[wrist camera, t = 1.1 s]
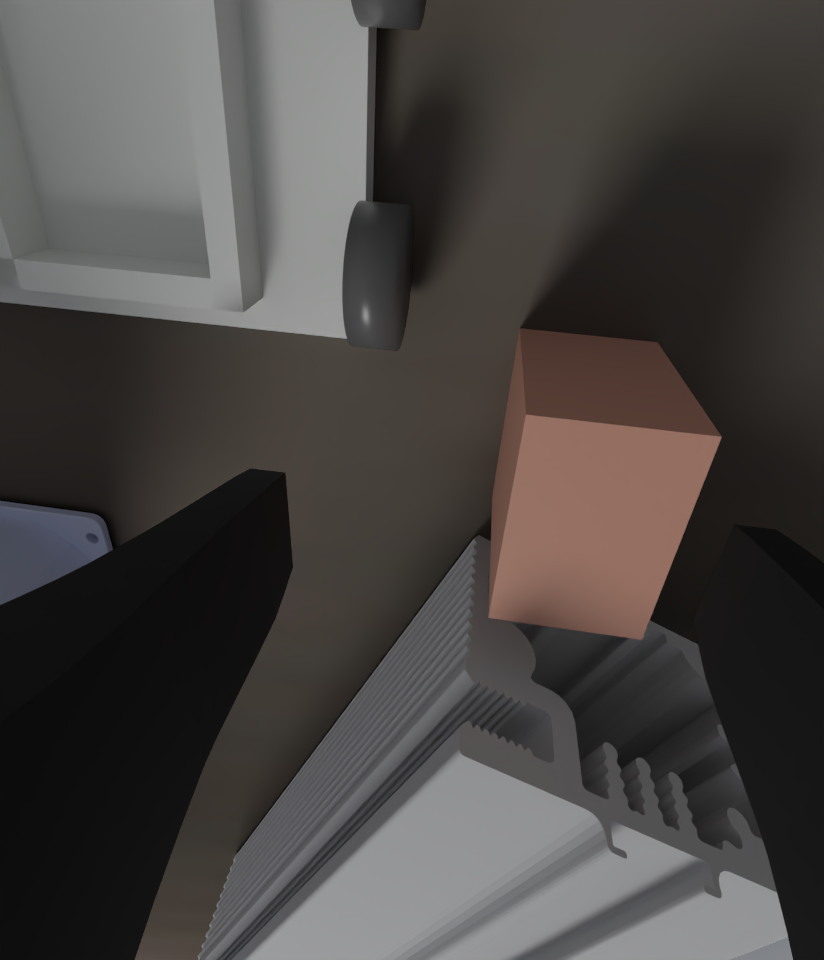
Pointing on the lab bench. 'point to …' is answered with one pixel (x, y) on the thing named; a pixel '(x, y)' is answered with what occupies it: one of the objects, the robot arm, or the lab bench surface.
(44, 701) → the robot arm
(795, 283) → the lab bench surface
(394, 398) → the lab bench surface
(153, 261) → the chassis
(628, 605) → the terracotta rectangular block
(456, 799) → the aluminum extrusion profile
